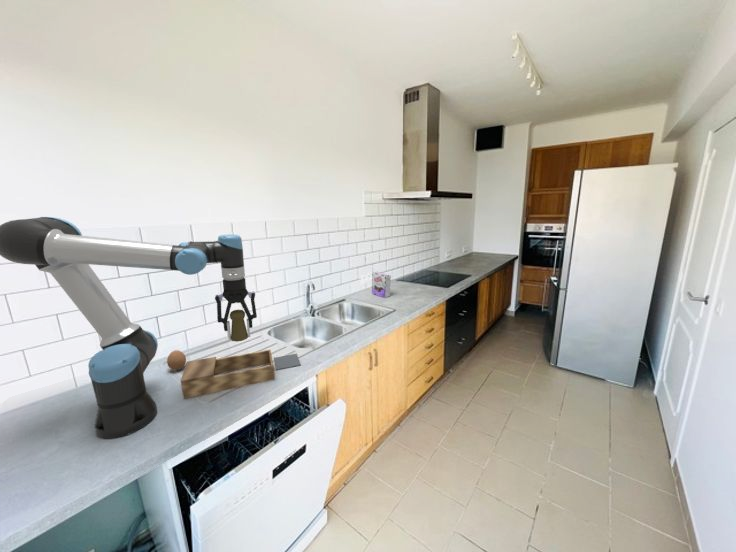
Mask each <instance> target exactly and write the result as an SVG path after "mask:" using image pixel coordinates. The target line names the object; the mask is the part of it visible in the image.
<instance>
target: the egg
mask: <svg viewBox="0 0 736 552" xmlns="http://www.w3.org/2000/svg"><path fill="white" fill-rule="evenodd" d="M166 359H167V360H166V364H167V366H168V368H169V369H170V370H172V371H179V370H181V369H183V368H184V366H186V363H187V357H186V355H185V353H184V352H182V351H181V350H179V349H178V350H173V351H171V352H170V353H169V354H168V356H167V358H166Z"/></svg>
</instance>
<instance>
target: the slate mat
mask: <svg viewBox="0 0 736 552" xmlns="http://www.w3.org/2000/svg"><path fill="white" fill-rule="evenodd" d="M273 364H274V368H275V371H281V370H286V369H291V368H296V367H300V366H302V364H301V361H300V359H299V356H298V354H297V353H292V354H287V355H281V356H276V357H275V356H274V357H273Z"/></svg>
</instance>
